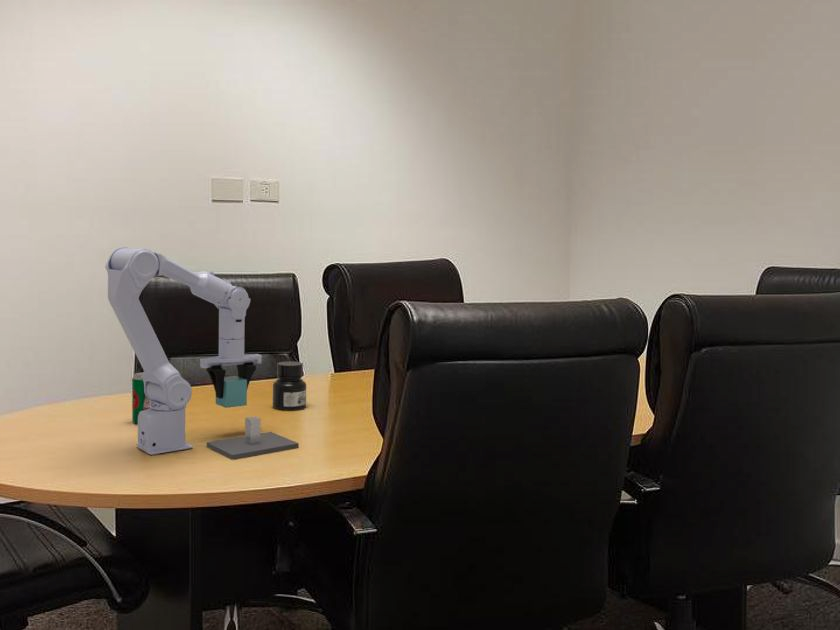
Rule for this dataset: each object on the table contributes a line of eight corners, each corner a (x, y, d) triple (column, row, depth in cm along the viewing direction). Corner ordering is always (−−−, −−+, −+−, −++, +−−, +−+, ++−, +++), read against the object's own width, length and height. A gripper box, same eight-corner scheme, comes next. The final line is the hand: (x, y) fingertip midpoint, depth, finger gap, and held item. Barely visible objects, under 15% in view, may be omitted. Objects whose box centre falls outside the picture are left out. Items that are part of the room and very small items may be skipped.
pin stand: (232, 459, 162) (232, 429, 161) (206, 446, 171) (206, 417, 170) (298, 447, 173) (298, 418, 172) (270, 435, 182) (271, 408, 181)
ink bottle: (289, 413, 205) (290, 367, 204) (264, 408, 209) (265, 363, 208) (313, 406, 213) (314, 363, 212) (288, 402, 218) (289, 359, 216)
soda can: (147, 425, 187) (146, 376, 186) (128, 424, 188) (127, 375, 187) (158, 420, 192) (158, 372, 191) (139, 419, 193) (139, 371, 192)
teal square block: (226, 408, 177) (226, 381, 176) (215, 403, 181) (215, 378, 180) (246, 405, 180) (246, 379, 180) (235, 401, 184) (236, 376, 184)
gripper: (251, 334, 187) (250, 389, 188) (194, 337, 177) (193, 396, 179) (266, 337, 182) (265, 395, 183) (208, 341, 172) (207, 402, 173)
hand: (231, 396), depth 181 cm, fingers closed on teal square block, 5 cm apart
